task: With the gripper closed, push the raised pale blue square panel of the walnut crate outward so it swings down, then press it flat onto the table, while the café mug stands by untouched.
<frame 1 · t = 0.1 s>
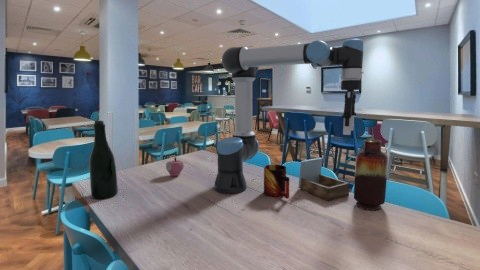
hand: (348, 132, 110), 28 cm above the table, fingers open, 13 cm apart
crate: (323, 192, 120), on the table
pale blue square panel: (310, 172, 126), point 7 cm above the table, hinge at 95.0°
apple: (175, 176, 146), on the table
mug: (278, 195, 118), on the table
vase: (368, 206, 105), on the table
beer bottle: (105, 195, 118), on the table
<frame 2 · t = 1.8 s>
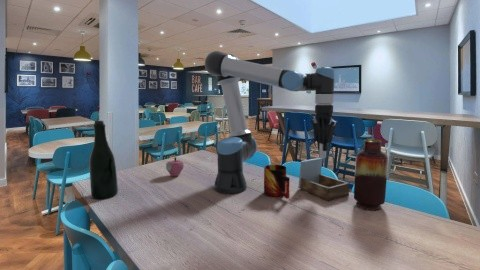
hand: (322, 157, 119), 16 cm above the table, fingers closed
nothing on the table moved.
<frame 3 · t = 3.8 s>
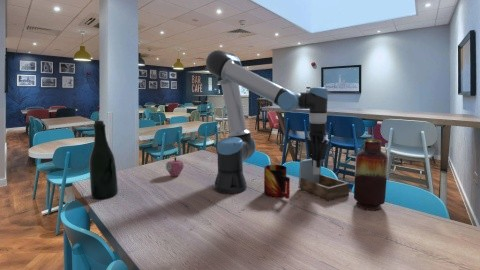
hand: (316, 173, 123), 7 cm above the table, fingers closed
pale blue square panel: (310, 172, 126), point 7 cm above the table, hinge at 92.6°, touching gripper
everything else where it was.
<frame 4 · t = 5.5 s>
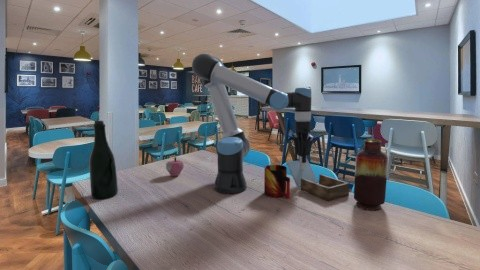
hand: (302, 168, 130), 8 cm above the table, fingers closed
pale blue square panel: (302, 172, 131), point 6 cm above the table, hinge at 50.0°, touching gripper
everything else where it was.
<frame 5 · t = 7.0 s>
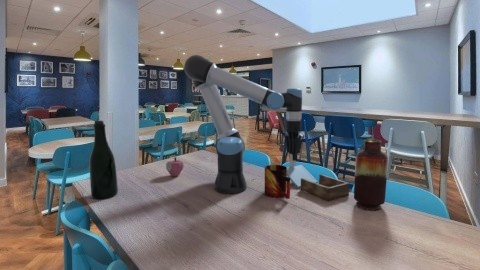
hand: (292, 166, 136), 7 cm above the table, fingers closed
pale blue square panel: (299, 175, 132), point 4 cm above the table, hinge at 27.5°, touching gripper
everything else where it was.
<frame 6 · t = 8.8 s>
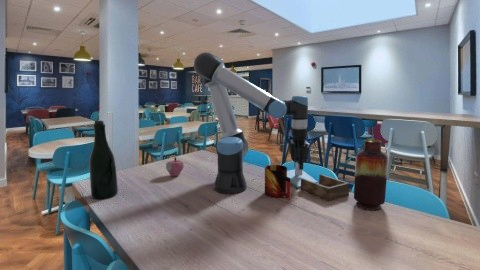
hand: (298, 174, 133), 4 cm above the table, fingers closed
pale blue square panel: (298, 177, 133), point 3 cm above the table, hinge at 17.4°, touching gripper
everything else where it was.
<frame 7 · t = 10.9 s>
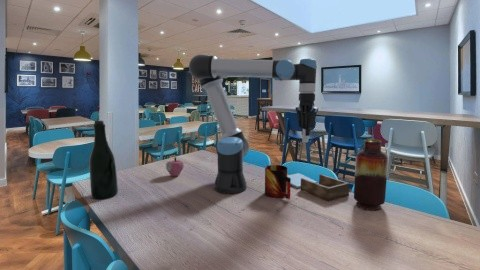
hand: (305, 142, 130), 21 cm above the table, fingers closed
pale blue square panel: (298, 180, 134), point 1 cm above the table, hinge at 5.0°
everything else where it was.
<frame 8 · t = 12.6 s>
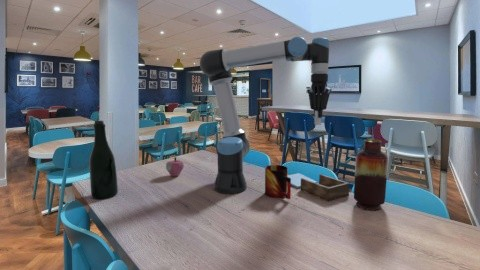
hand: (317, 124, 127), 29 cm above the table, fingers closed
nothing on the table moved.
at the end: pale blue square panel at +5° (first picture: +95°); mug moved 1.0 cm from its start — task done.
